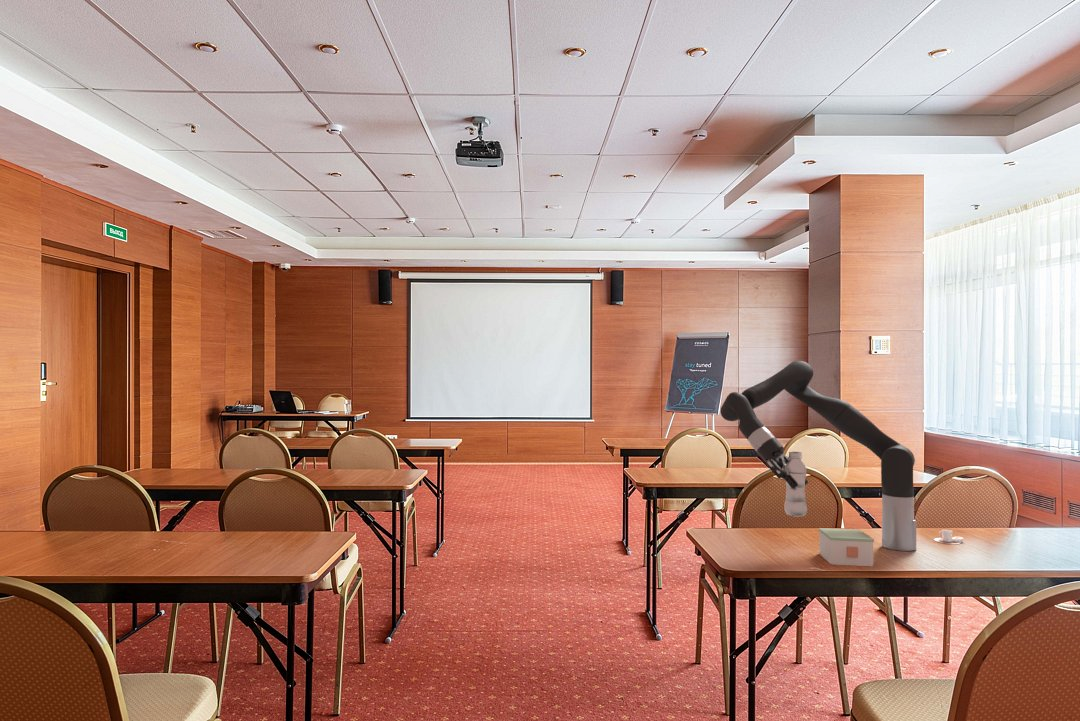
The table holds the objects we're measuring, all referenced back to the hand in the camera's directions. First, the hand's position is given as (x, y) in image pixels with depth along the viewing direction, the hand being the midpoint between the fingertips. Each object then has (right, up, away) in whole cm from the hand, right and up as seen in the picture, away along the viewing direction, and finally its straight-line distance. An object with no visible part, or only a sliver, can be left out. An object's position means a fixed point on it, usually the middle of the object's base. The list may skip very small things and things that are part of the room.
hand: (800, 485), depth 208 cm
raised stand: (+12, -22, -3) cm, 26 cm away
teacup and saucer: (+60, -24, +18) cm, 67 cm away
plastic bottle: (-1, -10, +1) cm, 10 cm away
